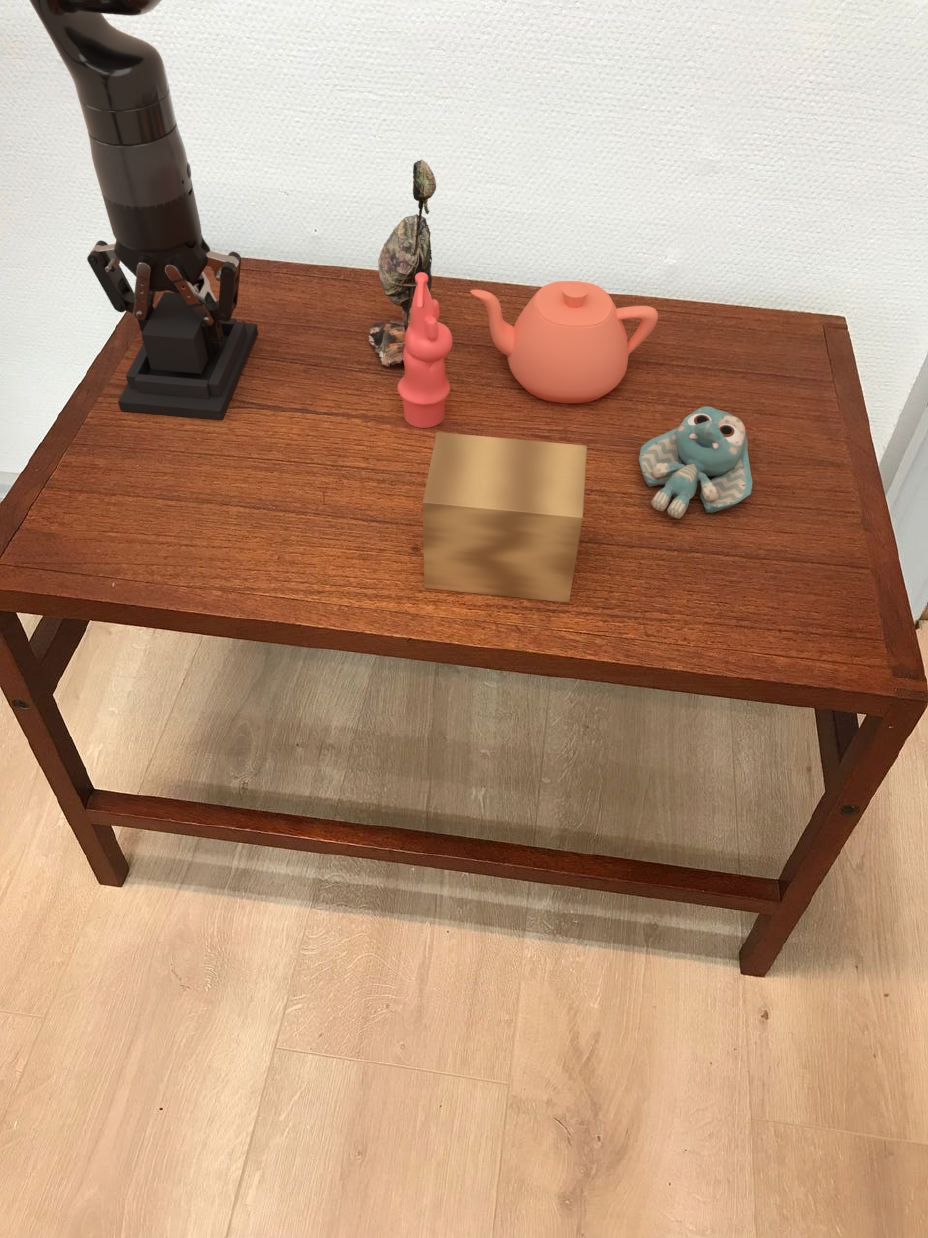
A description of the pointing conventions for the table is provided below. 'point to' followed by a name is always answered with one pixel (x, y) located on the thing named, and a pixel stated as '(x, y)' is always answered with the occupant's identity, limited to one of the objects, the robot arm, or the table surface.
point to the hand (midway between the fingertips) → (186, 348)
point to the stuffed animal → (699, 462)
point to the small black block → (175, 337)
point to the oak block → (503, 516)
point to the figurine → (425, 361)
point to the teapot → (568, 340)
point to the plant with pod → (404, 267)
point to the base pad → (191, 380)
